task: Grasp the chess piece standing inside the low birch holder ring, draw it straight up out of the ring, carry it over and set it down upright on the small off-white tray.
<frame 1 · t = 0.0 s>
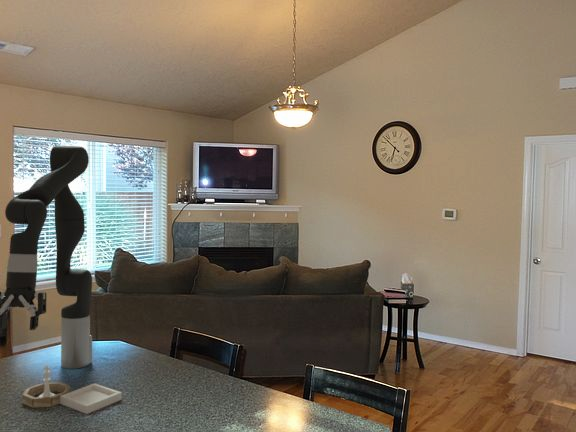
hand: (17, 329, 148), 22 cm above the table, tool pointing down, fingers open, 8 cm apart
holder ring: (46, 398, 156), on the table
tray: (91, 401, 155), on the table
chess piece: (46, 399, 156), resting in holder ring
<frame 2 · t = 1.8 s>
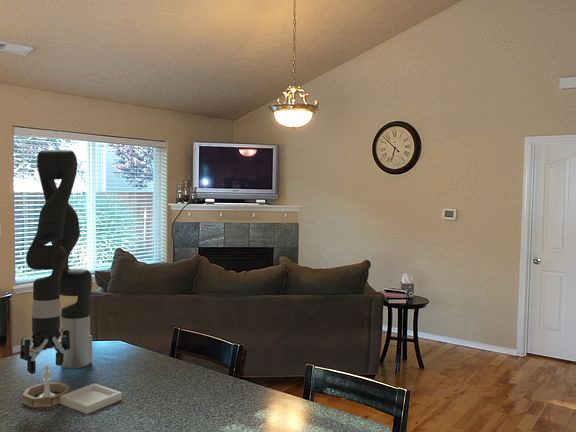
hand: (45, 369, 155), 9 cm above the table, tool pointing down, fingers open, 8 cm apart
nothing on the table moved.
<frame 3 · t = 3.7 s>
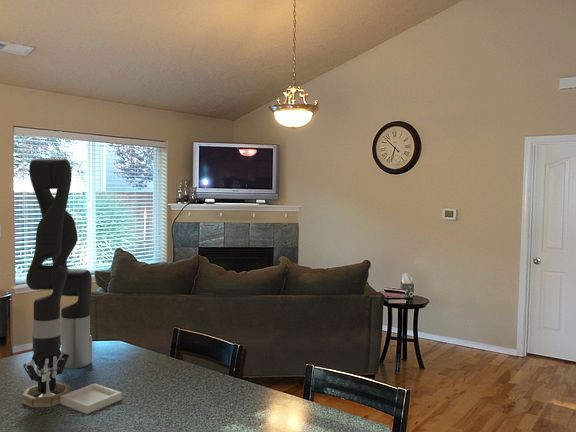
hand: (46, 391, 156), 2 cm above the table, tool pointing down, fingers closed on chess piece
chess piece: (46, 399, 156), resting in holder ring, touching gripper
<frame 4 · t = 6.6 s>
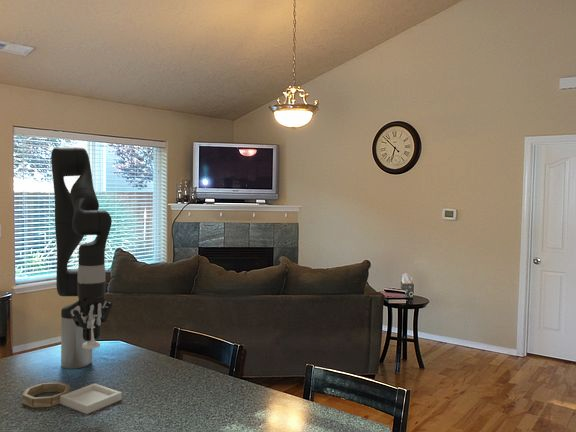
hand: (91, 339, 154), 18 cm above the table, tool pointing down, fingers closed on chess piece
chess piece: (91, 346, 154), point 16 cm above the table, touching gripper
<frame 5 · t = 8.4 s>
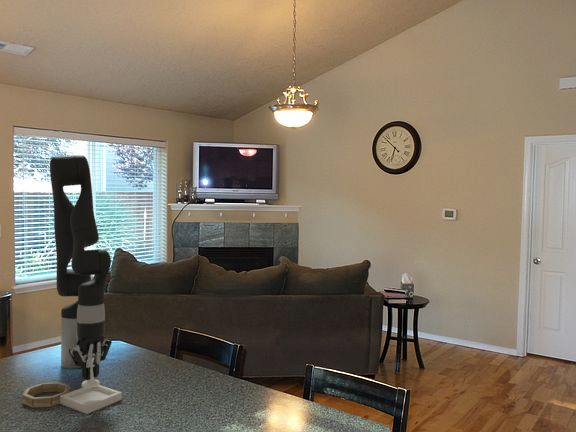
hand: (90, 377, 154), 7 cm above the table, tool pointing down, fingers closed on chess piece
chess piece: (90, 385, 155), point 5 cm above the table, touching gripper
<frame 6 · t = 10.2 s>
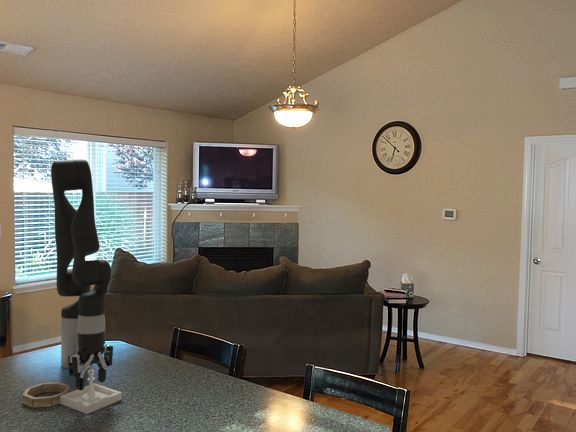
hand: (91, 385, 155), 5 cm above the table, tool pointing down, fingers open, 6 cm apart
chess piece: (91, 398, 155), point 1 cm above the table, touching tray
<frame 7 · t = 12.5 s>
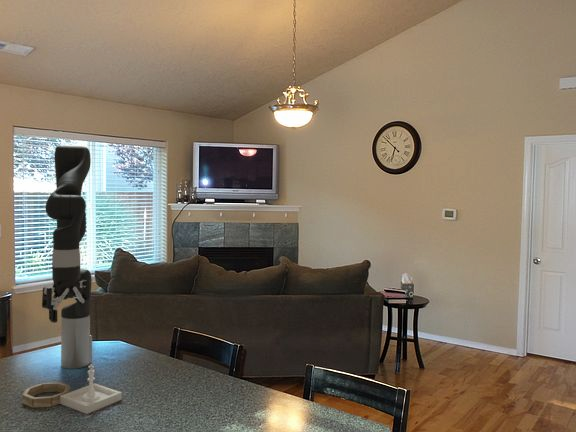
hand: (66, 318, 156), 24 cm above the table, tool pointing down, fingers open, 8 cm apart
nothing on the table moved.
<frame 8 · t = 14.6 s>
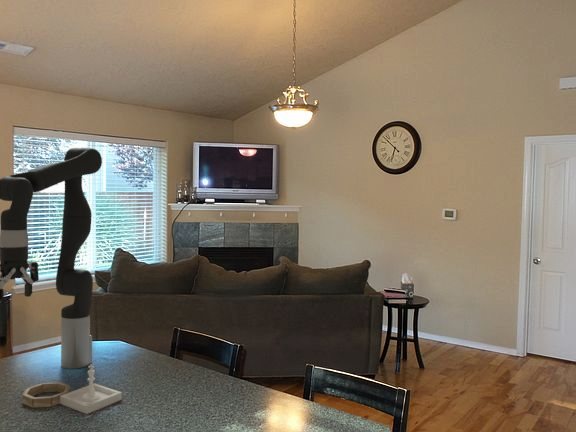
hand: (14, 298, 160), 28 cm above the table, tool pointing down, fingers open, 8 cm apart
nothing on the table moved.
at the end: chess piece inside the target area on the tray (0.1 cm from its centre), point 0.8 cm above the tray's base; chess piece tilted 0°; the gripper is holding nothing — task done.
